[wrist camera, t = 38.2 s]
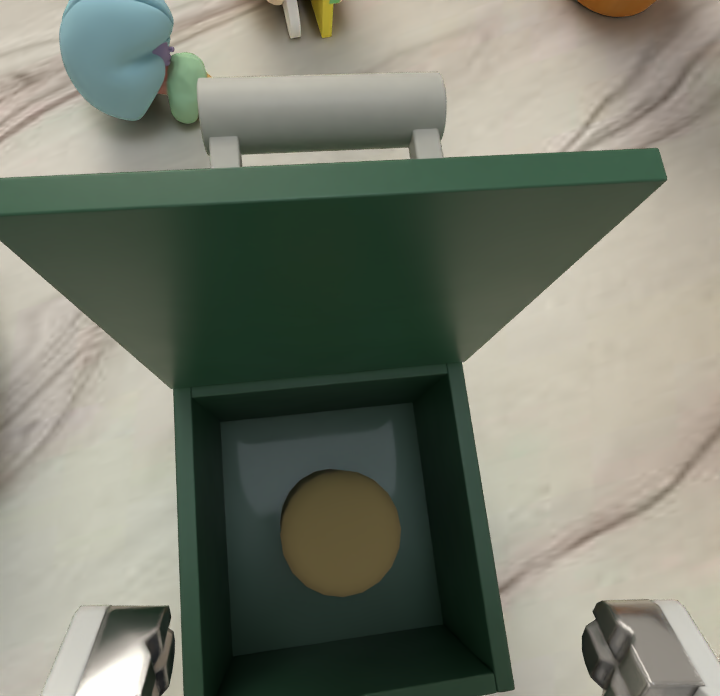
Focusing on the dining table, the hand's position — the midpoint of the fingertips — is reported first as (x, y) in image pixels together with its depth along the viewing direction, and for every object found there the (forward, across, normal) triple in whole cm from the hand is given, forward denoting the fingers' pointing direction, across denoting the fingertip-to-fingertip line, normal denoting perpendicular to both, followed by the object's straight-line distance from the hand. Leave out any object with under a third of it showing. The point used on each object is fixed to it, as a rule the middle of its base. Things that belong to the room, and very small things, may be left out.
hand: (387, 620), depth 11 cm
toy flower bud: (+38, +12, -4) cm, 40 cm away
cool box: (+17, 0, +16) cm, 24 cm away
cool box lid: (+10, +1, -1) cm, 10 cm away
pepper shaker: (+17, 0, +16) cm, 23 cm away
